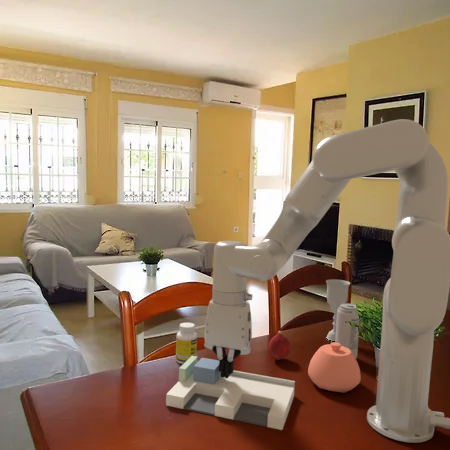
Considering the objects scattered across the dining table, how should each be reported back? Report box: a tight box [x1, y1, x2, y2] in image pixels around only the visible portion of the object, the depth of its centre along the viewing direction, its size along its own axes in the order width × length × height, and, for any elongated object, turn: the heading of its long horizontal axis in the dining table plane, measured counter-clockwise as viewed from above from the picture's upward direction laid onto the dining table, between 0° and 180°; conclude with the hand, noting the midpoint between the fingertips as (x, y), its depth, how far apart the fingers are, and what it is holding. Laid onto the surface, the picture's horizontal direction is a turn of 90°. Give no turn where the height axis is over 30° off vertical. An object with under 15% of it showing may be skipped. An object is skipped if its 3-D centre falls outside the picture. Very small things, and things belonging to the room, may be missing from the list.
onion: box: [268, 330, 292, 361], centre depth 117 cm, size 6×6×8 cm
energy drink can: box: [335, 302, 361, 360], centre depth 119 cm, size 6×6×15 cm
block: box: [194, 357, 221, 385], centre depth 100 cm, size 5×5×4 cm
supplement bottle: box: [175, 322, 198, 365], centre depth 115 cm, size 5×5×10 cm
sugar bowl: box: [307, 342, 362, 394], centre depth 105 cm, size 12×14×10 cm
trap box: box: [165, 355, 296, 431], centre depth 95 cm, size 25×14×6 cm, turn 72°
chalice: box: [325, 279, 351, 342], centre depth 134 cm, size 7×7×18 cm
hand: (226, 375), depth 99 cm, fingers closed
